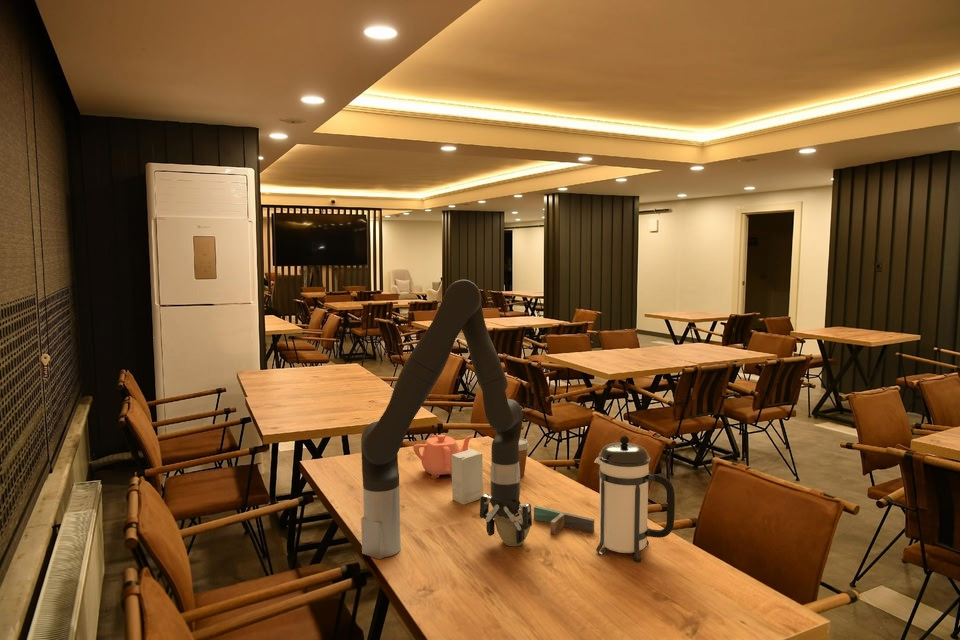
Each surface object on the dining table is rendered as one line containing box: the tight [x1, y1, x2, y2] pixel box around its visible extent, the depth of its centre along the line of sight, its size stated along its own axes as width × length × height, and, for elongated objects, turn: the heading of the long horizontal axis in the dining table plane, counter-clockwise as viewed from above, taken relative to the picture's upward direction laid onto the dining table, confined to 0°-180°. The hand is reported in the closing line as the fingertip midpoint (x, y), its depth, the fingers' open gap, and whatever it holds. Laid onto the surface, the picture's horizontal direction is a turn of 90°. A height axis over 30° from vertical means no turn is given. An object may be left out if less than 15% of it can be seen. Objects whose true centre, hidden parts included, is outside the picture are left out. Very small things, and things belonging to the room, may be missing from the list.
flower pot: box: [493, 509, 533, 547], centre depth 168 cm, size 10×10×7 cm
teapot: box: [412, 434, 475, 479], centre depth 222 cm, size 16×17×14 cm
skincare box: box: [451, 448, 484, 505], centre depth 198 cm, size 8×6×15 cm
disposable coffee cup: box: [519, 437, 530, 478], centre depth 219 cm, size 10×10×12 cm
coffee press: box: [593, 435, 676, 562], centre depth 162 cm, size 17×16×30 cm
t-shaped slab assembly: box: [533, 505, 595, 536], centre depth 176 cm, size 8×18×4 cm, turn 58°
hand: (505, 538), depth 165 cm, fingers open, 8 cm apart
